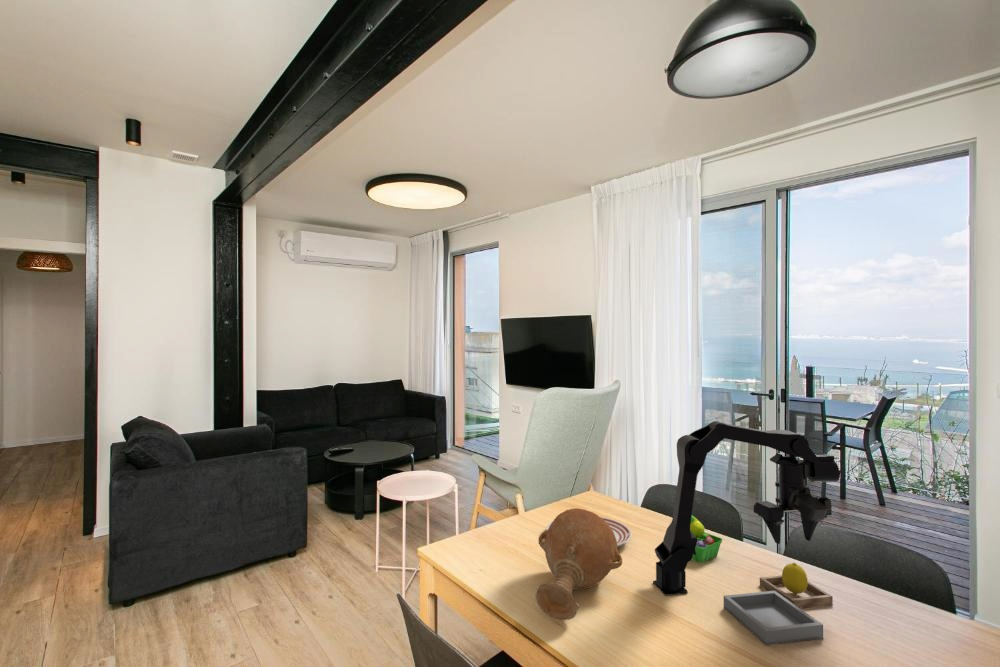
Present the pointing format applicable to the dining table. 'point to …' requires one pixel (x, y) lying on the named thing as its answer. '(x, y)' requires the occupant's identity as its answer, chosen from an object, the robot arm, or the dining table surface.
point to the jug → (575, 559)
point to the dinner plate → (616, 531)
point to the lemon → (794, 578)
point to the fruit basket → (704, 542)
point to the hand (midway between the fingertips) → (792, 541)
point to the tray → (773, 618)
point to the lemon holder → (817, 600)
